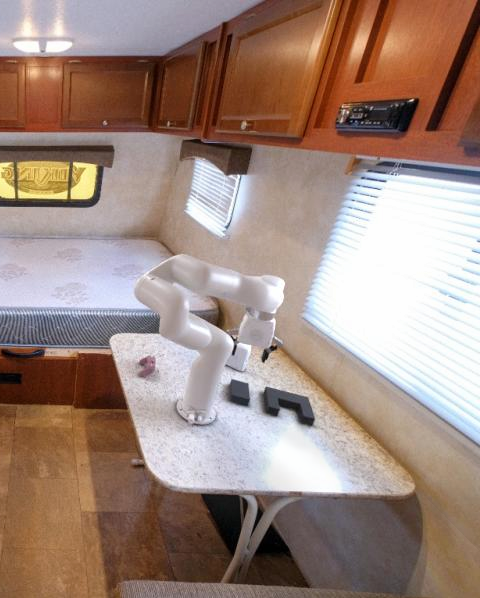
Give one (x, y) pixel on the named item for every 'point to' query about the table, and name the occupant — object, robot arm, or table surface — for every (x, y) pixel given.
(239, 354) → the photo printer
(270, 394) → the base pad
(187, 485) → the table surface
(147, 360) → the video game controller
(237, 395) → the pad
